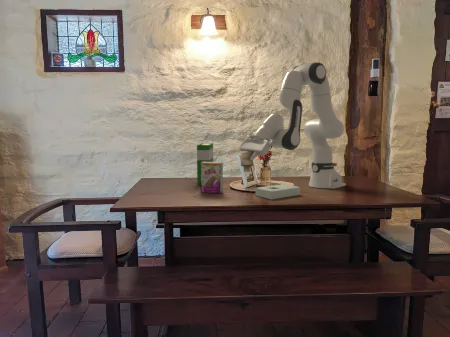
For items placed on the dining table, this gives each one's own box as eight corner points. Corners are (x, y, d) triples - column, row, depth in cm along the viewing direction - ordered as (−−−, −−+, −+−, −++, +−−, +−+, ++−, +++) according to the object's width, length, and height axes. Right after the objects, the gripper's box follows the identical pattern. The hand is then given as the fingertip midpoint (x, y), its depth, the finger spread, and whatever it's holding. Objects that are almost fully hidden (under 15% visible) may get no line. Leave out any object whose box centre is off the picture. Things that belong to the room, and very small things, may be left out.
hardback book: (201, 180, 246) (201, 143, 243) (213, 180, 245) (213, 143, 242) (197, 184, 229) (196, 145, 225) (209, 185, 228) (209, 145, 225)
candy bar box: (200, 192, 205) (200, 162, 202) (203, 191, 209) (203, 161, 207) (220, 193, 202) (220, 163, 199) (223, 192, 206) (223, 162, 204)
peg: (248, 170, 198) (247, 151, 196) (255, 171, 193) (255, 151, 191) (238, 171, 194) (238, 151, 193) (245, 172, 189) (245, 152, 188)
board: (283, 191, 208) (284, 183, 208) (299, 194, 198) (300, 187, 198) (255, 195, 197) (255, 187, 196) (270, 199, 187) (271, 191, 187)
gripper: (277, 144, 189) (261, 165, 185) (253, 141, 206) (238, 161, 202) (270, 135, 186) (254, 156, 182) (246, 133, 203) (231, 153, 199)
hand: (245, 159), depth 192 cm, fingers closed on peg, 6 cm apart
